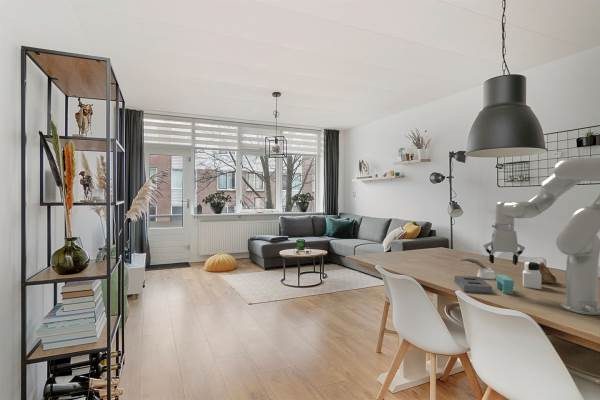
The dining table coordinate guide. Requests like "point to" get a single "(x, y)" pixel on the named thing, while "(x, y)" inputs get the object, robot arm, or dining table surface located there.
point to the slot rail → (473, 284)
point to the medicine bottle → (532, 275)
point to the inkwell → (482, 270)
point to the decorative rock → (546, 274)
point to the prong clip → (505, 284)
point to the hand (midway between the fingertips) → (503, 263)
